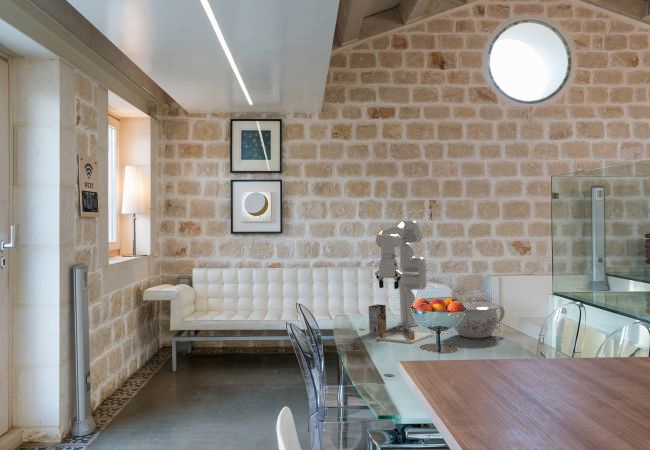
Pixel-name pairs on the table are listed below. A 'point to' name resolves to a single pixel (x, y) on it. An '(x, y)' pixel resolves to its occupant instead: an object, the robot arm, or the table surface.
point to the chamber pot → (479, 319)
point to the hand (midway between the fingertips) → (388, 288)
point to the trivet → (406, 337)
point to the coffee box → (377, 318)
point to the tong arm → (409, 332)
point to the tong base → (391, 330)
